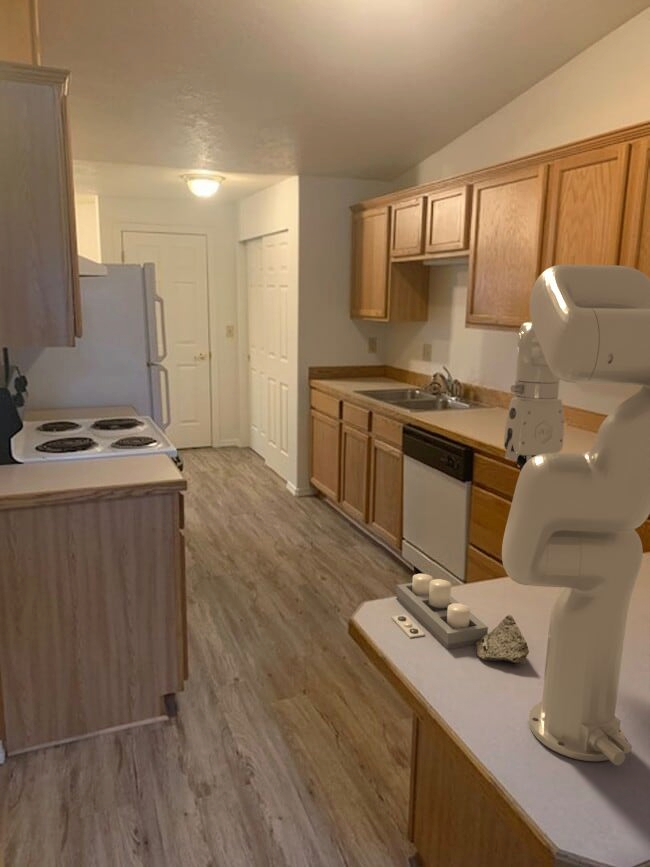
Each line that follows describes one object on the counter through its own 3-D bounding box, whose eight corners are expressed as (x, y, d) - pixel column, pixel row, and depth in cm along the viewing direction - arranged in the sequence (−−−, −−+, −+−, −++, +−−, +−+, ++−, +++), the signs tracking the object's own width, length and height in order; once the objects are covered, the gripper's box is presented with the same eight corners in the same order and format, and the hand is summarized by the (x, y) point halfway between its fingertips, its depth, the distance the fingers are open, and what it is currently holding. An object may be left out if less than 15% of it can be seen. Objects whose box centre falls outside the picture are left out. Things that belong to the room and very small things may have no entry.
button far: (435, 599, 129) (436, 580, 128) (417, 601, 128) (418, 582, 127) (426, 591, 133) (427, 572, 132) (408, 593, 131) (409, 574, 131)
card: (424, 635, 118) (425, 633, 118) (410, 638, 117) (410, 635, 117) (405, 615, 125) (405, 613, 125) (391, 618, 124) (391, 615, 124)
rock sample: (458, 623, 114) (499, 598, 112) (480, 640, 118) (520, 616, 116) (478, 675, 106) (523, 649, 104) (501, 691, 110) (545, 667, 108)
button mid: (453, 606, 122) (455, 586, 121) (435, 609, 121) (436, 589, 120) (443, 597, 126) (444, 578, 125) (425, 600, 125) (426, 580, 124)
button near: (473, 632, 116) (474, 611, 115) (453, 635, 115) (454, 614, 114) (461, 622, 120) (462, 602, 119) (442, 625, 118) (443, 605, 118)
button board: (486, 642, 116) (487, 627, 115) (447, 649, 113) (448, 633, 112) (430, 593, 135) (431, 580, 134) (396, 598, 132) (396, 584, 132)
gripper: (514, 394, 110) (506, 498, 114) (584, 392, 115) (574, 491, 119) (489, 389, 117) (482, 487, 121) (556, 387, 122) (547, 481, 126)
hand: (528, 489), depth 120 cm, fingers closed
